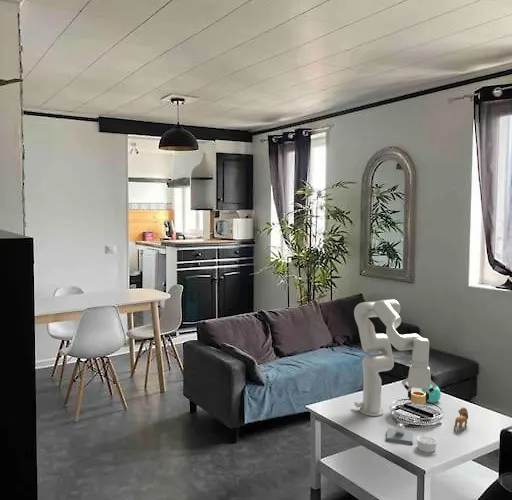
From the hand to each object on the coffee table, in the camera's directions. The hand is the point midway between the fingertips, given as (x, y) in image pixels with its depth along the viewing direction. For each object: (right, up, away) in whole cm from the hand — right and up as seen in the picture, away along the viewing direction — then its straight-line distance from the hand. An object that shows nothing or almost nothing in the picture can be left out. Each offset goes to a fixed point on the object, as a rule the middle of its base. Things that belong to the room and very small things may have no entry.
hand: (418, 399), depth 255 cm
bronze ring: (0, -1, 0) cm, 1 cm away
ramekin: (+1, -20, -9) cm, 22 cm away
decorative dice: (+23, -15, +53) cm, 60 cm away
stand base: (-8, -19, +2) cm, 21 cm away
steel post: (-8, -18, +2) cm, 19 cm away
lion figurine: (+26, -19, +15) cm, 35 cm away
